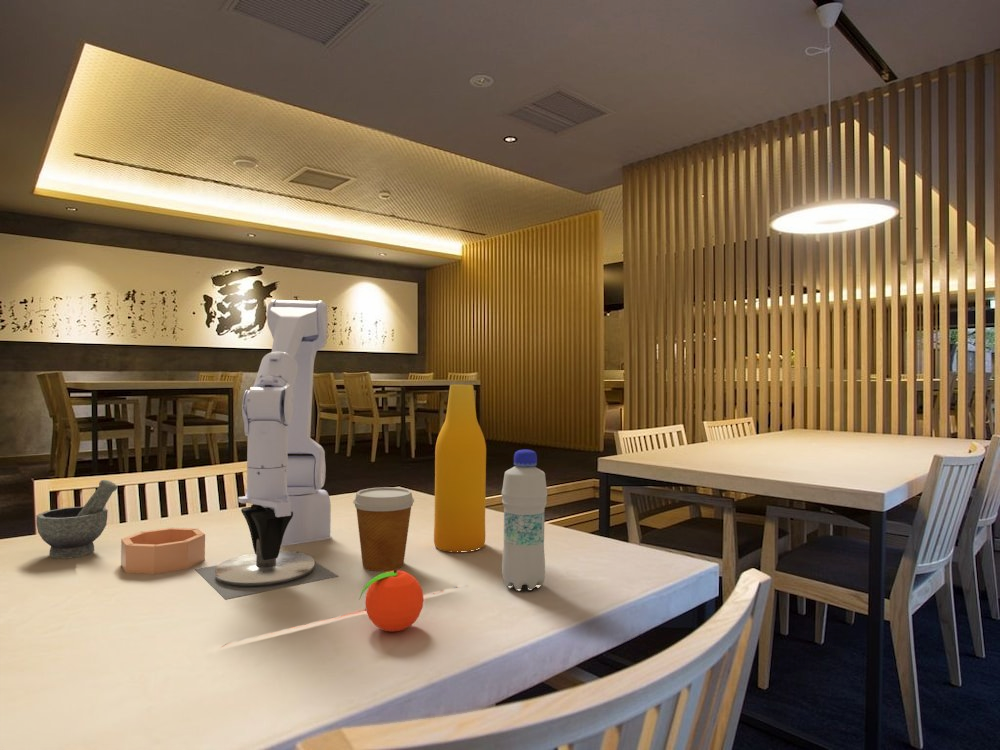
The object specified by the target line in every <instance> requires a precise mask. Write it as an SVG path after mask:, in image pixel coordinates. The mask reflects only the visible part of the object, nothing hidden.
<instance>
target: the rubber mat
mask: <svg viewBox="0 0 1000 750" xmlns="http://www.w3.org/2000/svg"><path fill="white" fill-rule="evenodd" d="M296 552H297V553H300V552H299V551H296ZM218 565H219V564H218ZM218 565H212V566H207V567H200V568H195V569H194V570H195V571H196V572H197V573H198V574H199V575H200V577H202V578H203V579H204V580H205V581H206V582H207V583H208V584H209V585H210V586H211V587H212V588H213V589H214V590H215V591H216V593H218V594H219V595H220V596H221V597H222V599H224V600H225V601H227V600H231V599H235V598H240V597H244V596H245V597H246V596H250V595H255V594H259V593H261V594H262V593H265V592H269V591H274V590H280V589H284V588H285V589H286V588H289V587H294V586H299V585H304V584H308V583H313V582H318V581H324V580H328V579H332V578H338V577H339V575H338V574H336V573H334V572H333V571H331V570H330V569H328V568H327V567H324V566H323V565H321V564H319V563H318V562H316V561H315V564H314V569H313V570H312V571H311V572H310V573H308V574H307V575H305V576H302V577H300V578H297V579H294V580H290V581H286V582H282V583H276V584H268V585H256V586H243V585H232V584H227V583H224V582H221V581H219V580H217V579H216V577H215V569H216V567H217V566H218Z"/></svg>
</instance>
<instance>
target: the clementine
mask: <svg viewBox="0 0 1000 750" xmlns="http://www.w3.org/2000/svg"><path fill="white" fill-rule="evenodd" d="M367 588H368V589H367ZM366 589H367V592H366V594H365V610H366V614H367V616H368V619H369V620H370V622H372V623H373V624H374V626H376V627H377V628H379V629H380V630H383V631H385V632H400V631H405V630H406V629H407V628H409V627H410V626H412V625H414V623H415V622H416V620H417V619H418V618H419V617H420V614H421V612H422V609H423V606H424V600H425V599H424V592H423V589H422V586H421V585H420V582H419V581H418V580H417V578H416V577H414V576H413V575H412V574H410V573H408V572H406V571H404V570H399V569H395V570H391V571H384V572H382V573H380V574H378V575H376V576H374V577H372V579H370V580H369V581H368V582H367V583H366V584H365V586H364V587H363V589H362V590H361V594H360V597H359V598H358V599H359V601H360V599H361V597H362V596H363V594H364V592H365V590H366Z"/></svg>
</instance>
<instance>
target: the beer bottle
mask: <svg viewBox="0 0 1000 750" xmlns="http://www.w3.org/2000/svg"><path fill="white" fill-rule="evenodd" d="M474 390H475V389H474V385H473V384H450V385H449V392H448V400H447V408H446V413H445V414H446V415H445V420H444V423H443V424H442V426H441V429H440V430H439V432H438V436H437V439H436V443H435V451H434V455H435V456H434V458H435V459H434V474H435V475H434V524H433V525H434V526H433V527H434V528H433V543H434V547H436V548H435V549H437V548H438V550H439V549H440V551H442V550H444V551H443V552H446V551H452V552H451V553H453V552H457V551H458V552H461V551H471V550H476V549H478V548H481V547H482V548H484V546H485V544H486V490H487V489H486V484H487V483H486V481H487V480H486V479H487V473H486V472H487V470H486V469H487V443H486V440H485V439H486V438H485V437H484V433H483V431H482V428H481V426H480V424H479V422H478V418H477V412H476V400H475V391H474ZM482 548H481V549H482Z"/></svg>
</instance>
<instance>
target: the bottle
mask: <svg viewBox="0 0 1000 750" xmlns="http://www.w3.org/2000/svg"><path fill="white" fill-rule="evenodd" d="M537 456H538V455H537V453H536V451H534V450H532V449H519V450H517V451H515V452H514V454H513V465H514V466H513V467H511V468H509V469H506V471H504V475H503V483H502V489H501V497H502V500H501V504H503V548H502V549H503V551H502V559H501V560H502V561H501V573H502V579H503V582H504V585H505V587H507V586H512V585H513V588H514V589H515V590H516V589H521V588H523V585H527V586H526V587H527V589H528V588H529V589H533V588H535V586H536V585H542V586H543V585H544V581H545V573H546V559H545V508H546V505H547V503H548V501H547V497H548V488H547V480H546V479H547V478H546V473H545V472H544V471H543V470H541V469H540V468H538V467H536V466H537V465H538V457H537ZM535 589H536V588H535ZM521 590H522V589H521Z"/></svg>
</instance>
